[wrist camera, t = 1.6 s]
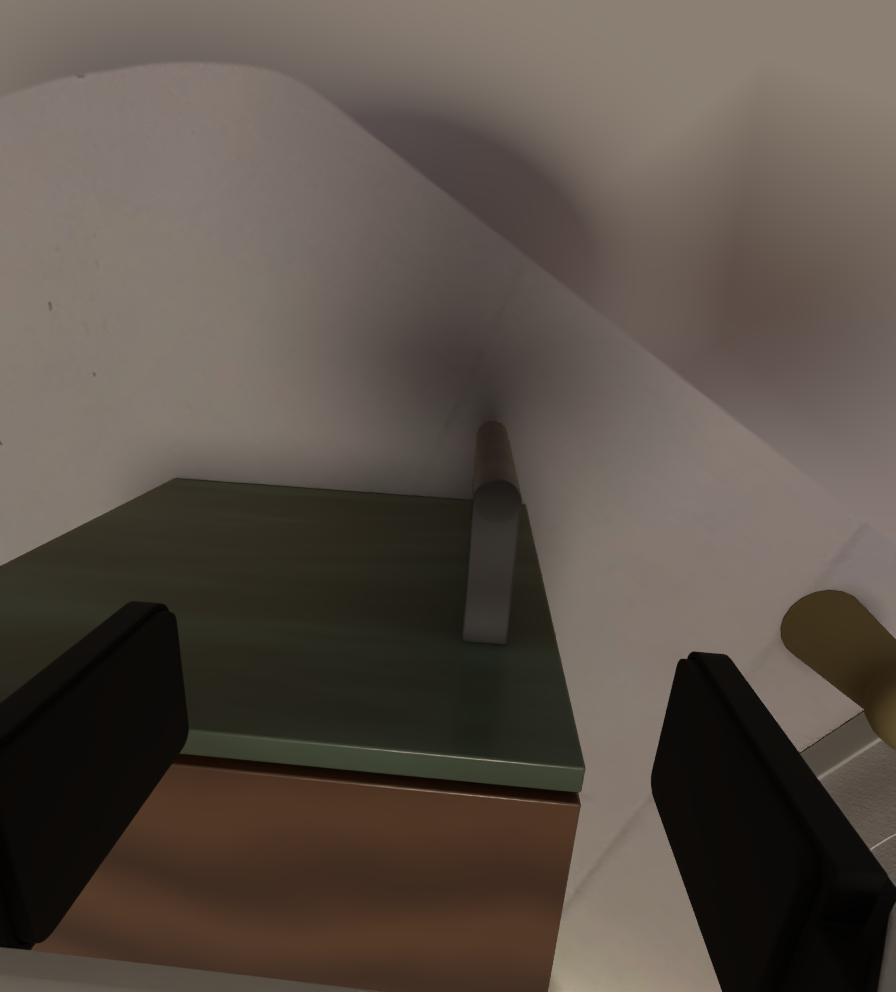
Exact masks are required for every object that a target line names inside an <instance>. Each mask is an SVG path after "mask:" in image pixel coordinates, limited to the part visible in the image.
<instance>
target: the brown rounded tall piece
mask: <svg viewBox="0 0 896 992" xmlns="http://www.w3.org/2000/svg"><path fill="white" fill-rule="evenodd" d="M781 638H782V640H783V642H784V644H785V646H786V648H787V649H788V650H789V651H790V652H792V653H793V654H794V655H795V656H796V657H798V658H799V659H800V660H801V661H803V662H804V663H805V664H806V665H808V666H809V667H810V668H812V669H813V670H814V671H815V672H817V673H818V674H819V675H821V676H822V677H823V678H824V679H826V680H827V681H828V682H830V683H831V684H832V685H833V686H835V687H836V688H837V689H838V690H840V691H841V692H842V693H844V694H845V695H846V696H847V697H849V698H850V699H851V700H853V701H854V702H855V703H856V704H858V705H859V706H860V707H862V708H863V709H864V714H865V716H866V718H867V720H868V722H869V724H870V726H871V728H872V730H873V731H874V732H875V734H876V735H877V736H878V737H879V738H880V739H881V740H882V741H884V742H885V743H886V744H887V745H888V746H889V747H891V748H892V749H894V750H895V751H896V639H895V638H894V637H893V636H892V635H891V634H890V633H889V632H888V631H887V630H886V629H885V628H884V627H883V626H882V625H881V624H880V623H879V621H878V620H877V619H876V618H875V617H874V616H873V615H872V614H871V613H870V612H869V611H868V610H867V609H866V608H865V607H864V606H863V605H862V604H861V603H860V602H859V601H858V600H857V599H856V598H855V597H854V596H852V595H849V594H847V593H845V592H842V591H832V590H827V591H821V592H815V593H813V594H811V595H808V596H806V597H804V598H802V599H801V600H799V601H798V602H797V603H796V604H794V605H793V606H792V607H791V608H790V610H789V611H788V612H787V614H786V615H785V616H784V619H783V622H782V626H781Z"/></svg>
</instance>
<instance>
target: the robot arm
mask: <svg viewBox="0 0 896 992" xmlns="http://www.w3.org/2000/svg"><path fill="white" fill-rule="evenodd" d="M188 733H189V722H188V714H187V705H186V696H185V688H184V679H183V670H182V662H181V653H180V644H179V636H178V627H177V619H176V616H175V614H174V613H172V612H169V609H168V608H167V606H166V605H165V604H163V603H152V602H141V601H130V602H129V603H127V604H125V605H124V606H123V607H122V608H120V609H119V610H118V611H117V612H115V613H114V614H113V615H111V616H110V617H109V618H108V619H106V620H105V621H104V622H103V623H101V624H100V625H99V626H97V627H96V628H95V629H94V630H92V631H91V632H90V633H89V634H87V635H86V636H85V637H83V638H82V639H81V640H80V641H78V642H77V643H76V644H75V645H73V646H72V647H71V648H70V649H68V650H67V651H66V652H64V653H63V654H62V655H61V656H59V657H58V658H57V659H56V660H54V661H53V662H52V663H50V664H49V665H48V666H47V667H45V668H44V669H43V670H42V671H40V672H39V673H38V674H36V675H35V676H34V677H33V678H31V679H30V680H29V681H28V682H26V683H25V684H24V685H23V686H21V687H20V688H19V689H17V690H16V691H15V692H14V693H12V694H11V695H10V696H9V697H7V698H6V699H5V700H3V701H2V702H1V703H0V992H381V991H373V990H365V989H356V988H348V987H340V986H332V985H324V984H315V983H307V982H299V981H290V980H282V979H274V978H265V977H257V976H248V975H240V974H232V973H223V972H215V971H206V970H198V969H189V968H180V967H171V966H163V965H154V964H145V963H137V962H128V961H119V960H110V959H102V958H93V957H84V956H75V955H67V954H58V953H49V952H40V951H32V950H31V949H32V948H33V946H34V945H35V944H36V943H41V942H43V941H45V940H46V939H47V938H48V937H49V936H50V935H51V934H52V933H53V931H54V930H55V929H56V927H57V926H58V925H59V923H60V922H61V920H62V919H63V917H64V916H65V915H66V913H67V912H68V910H69V909H70V908H71V906H72V905H73V903H74V902H75V900H76V899H77V898H78V896H79V895H80V893H81V892H82V891H83V889H84V888H85V886H86V885H87V883H88V882H89V881H90V879H91V878H92V876H93V875H94V874H95V872H96V871H97V869H98V868H99V867H100V865H101V864H102V862H103V861H104V859H105V858H106V857H107V855H108V854H109V852H110V851H111V850H112V848H113V847H114V845H115V844H116V842H117V841H118V840H119V838H120V837H121V835H122V834H123V833H124V831H125V830H126V828H127V827H128V826H129V824H130V823H131V821H132V820H133V818H134V817H135V816H136V814H137V813H138V811H139V810H140V809H141V807H142V806H143V804H144V803H145V801H146V800H147V799H148V797H149V796H150V794H151V793H152V792H153V790H154V789H155V787H156V786H157V784H158V783H159V782H160V780H161V779H162V777H163V776H164V775H165V773H166V772H167V770H168V769H169V768H170V766H171V765H172V763H173V762H174V760H175V759H176V758H177V756H178V755H179V753H180V752H181V751H182V749H183V747H184V746H185V743H186V741H187V738H188ZM651 788H652V794H653V798H654V801H655V803H656V806H657V809H658V812H659V815H660V817H661V820H662V823H663V826H664V829H665V832H666V834H667V837H668V840H669V843H670V846H671V849H672V851H673V854H674V857H675V860H676V863H677V865H678V868H679V871H680V874H681V877H682V880H683V882H684V885H685V888H686V891H687V894H688V896H689V899H690V902H691V905H692V908H693V911H694V913H695V916H696V919H697V922H698V925H699V928H700V930H701V933H702V936H703V939H704V942H705V944H706V947H707V950H708V953H709V956H710V959H711V961H712V964H713V967H714V970H715V973H716V975H717V978H718V981H719V984H720V987H721V990H722V992H896V887H895V885H894V884H893V883H892V881H891V880H890V878H889V877H888V874H887V873H886V871H885V870H884V869H883V867H882V866H881V864H880V863H879V862H878V860H877V859H876V858H875V856H874V855H873V853H872V852H871V851H870V849H869V848H868V847H867V845H866V844H865V842H864V841H863V840H862V838H861V837H860V836H859V834H858V833H857V832H856V830H855V829H854V827H853V826H852V825H851V823H850V822H849V821H848V819H847V818H846V816H845V815H844V814H843V812H842V811H841V810H840V808H839V807H838V805H837V804H836V803H835V801H834V800H833V799H832V797H831V796H830V794H829V793H828V792H827V790H826V789H825V788H824V786H823V785H822V784H821V782H820V781H819V779H818V778H817V777H816V775H815V774H814V773H813V771H812V770H811V768H810V767H809V766H808V764H807V763H806V762H805V760H804V759H803V757H802V756H801V755H800V753H799V752H798V751H797V749H796V748H795V746H794V745H793V744H792V742H791V741H790V740H789V738H788V737H787V736H786V734H785V733H784V731H783V730H782V729H781V727H780V726H779V725H778V723H777V722H776V720H775V719H774V718H773V716H772V715H771V714H770V712H769V711H768V709H767V708H766V707H765V705H764V704H763V703H762V701H761V700H760V698H759V697H758V696H757V694H756V693H755V692H754V690H753V689H752V688H751V686H750V685H749V683H748V682H747V681H746V679H745V678H744V677H743V675H742V674H741V672H740V671H739V670H738V668H737V667H736V666H735V664H734V663H733V661H732V660H731V659H730V658H729V657H728V656H727V655H724V654H715V653H704V652H691V653H690V654H689V656H688V658H687V659H680V660H679V662H678V664H677V667H676V672H675V676H674V680H673V684H672V689H671V693H670V697H669V701H668V706H667V710H666V714H665V718H664V723H663V727H662V731H661V735H660V740H659V744H658V748H657V752H656V757H655V761H654V765H653V769H652V774H651Z"/></svg>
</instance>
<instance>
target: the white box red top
mask: <svg viewBox="0 0 896 992" xmlns="http://www.w3.org/2000/svg"><path fill="white" fill-rule="evenodd" d="M800 755H801V756H802V757H803V759H804V760H805V762H806V763H807V764H808V766H809V767H810V768H811V770H812V771H813V773H814V774H815V775H816V777H817V778H818V779H819V781H820V782H821V784H822V785H823V786H824V788H825V789H826V790H827V792H828V793H829V794H830V796H831V797H832V799H833V800H834V801H835V803H836V804H837V805H838V807H839V808H840V810H841V811H842V812H843V814H844V815H845V816H846V818H847V819H848V821H849V822H850V823H851V825H852V826H853V827H854V829H855V830H856V832H857V833H858V834H859V836H860V837H861V838H862V840H863V841H864V842H865V844H866V845H867V847H868V848H869V849H870V851H871V852H872V853H873V855H874V856H875V858H876V859H877V860H878V862H879V863H880V864H881V866H882V867H883V869H884V870H885V871H886V873H887V874H888V877H889V878H890V880H891V881H892V883H893V884H894V885H895V887H896V751H895V750H894V749H892V748H891V747H889V746H888V745H887V744H886V743H885V742H884V741H882V740H881V739H880V738H879V737H878V736H877V735H876V734H875V732H874V731H873V730H872V728H871V726H870V724H869V722H868V720H867V718H866V716H865V714H864V711H863V712H862V713H860V714H859V715H857V716H856V717H854V718H853V719H851V720H850V721H848V722H847V723H845V724H844V725H842V726H841V727H839V728H838V729H836V730H835V731H833V732H832V733H830V734H829V735H827V736H826V737H824V738H823V739H821V740H820V741H818V742H817V743H815V744H814V745H812V746H811V747H809V748H808V749H806V750H805V751H803V752H802V753H800Z"/></svg>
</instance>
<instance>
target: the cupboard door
mask: <svg viewBox="0 0 896 992" xmlns="http://www.w3.org/2000/svg"><path fill="white" fill-rule="evenodd" d="M130 601H141V602H152V603H163V604H165V605H166V606H167V608H168V609H169V612H172V613H174V614H175V616H176V619H177V627H178V636H179V644H180V653H181V662H182V670H183V679H184V688H185V696H186V705H187V714H188V722H189V733H188V738H187V741H186V743H185V746H184V747H183V749H182V751H181V752H180V753H179V754H188V755H198V756H208V757H219V758H229V759H239V760H249V761H260V762H270V763H280V764H290V765H301V766H311V767H321V768H331V769H342V770H352V771H362V772H372V773H383V774H393V775H403V776H413V777H423V778H434V779H444V780H454V781H464V782H475V783H485V784H495V785H505V786H516V787H526V788H536V789H546V790H557V791H567V792H577V793H579V792H581V790H582V785H583V779H584V773H585V764H584V760H583V755H582V751H581V747H580V742H579V738H578V733H577V729H576V724H575V720H574V716H573V711H572V707H571V702H570V698H569V693H568V689H567V685H566V680H565V676H564V671H563V667H562V663H561V658H560V654H559V649H558V645H557V640H556V636H555V632H554V627H553V623H552V618H551V614H550V610H549V605H548V601H547V596H546V592H545V587H544V583H543V579H542V574H541V570H540V565H539V561H538V556H537V552H536V548H535V543H534V539H533V534H532V530H531V526H530V521H529V517H528V512H527V508H526V505H523V504H522V500H521V494H520V489H519V484H518V480H517V475H516V470H515V465H514V461H513V456H512V451H511V446H510V441H509V437H508V432H507V429H506V427H505V426H504V425H503V424H502V423H500V422H498V421H487V422H485V423H483V424H482V425H481V426H480V427H479V429H478V431H477V439H476V452H475V466H474V479H473V493H472V501H469V500H456V499H442V498H429V497H415V496H402V495H388V494H374V493H361V492H347V491H334V490H320V489H307V488H293V487H280V486H266V485H253V484H239V483H225V482H212V481H198V480H185V479H172V480H170V481H168V482H166V483H164V484H162V485H160V486H158V487H156V488H154V489H152V490H150V491H149V492H147V493H145V494H143V495H141V496H139V497H137V498H135V499H133V500H131V501H129V502H127V503H125V504H123V505H121V506H119V507H117V508H115V509H113V510H111V511H109V512H107V513H105V514H103V515H101V516H99V517H97V518H95V519H93V520H91V521H89V522H87V523H85V524H83V525H81V526H79V527H77V528H75V529H73V530H71V531H69V532H67V533H65V534H63V535H61V536H59V537H57V538H55V539H53V540H51V541H49V542H47V543H45V544H43V545H41V546H39V547H37V548H35V549H33V550H31V551H29V552H27V553H25V554H23V555H21V556H19V557H17V558H15V559H13V560H11V561H10V562H8V563H6V564H4V565H2V566H0V703H1V702H2V701H3V700H5V699H6V698H7V697H9V696H10V695H11V694H12V693H14V692H15V691H16V690H17V689H19V688H20V687H21V686H23V685H24V684H25V683H26V682H28V681H29V680H30V679H31V678H33V677H34V676H35V675H36V674H38V673H39V672H40V671H42V670H43V669H44V668H45V667H47V666H48V665H49V664H50V663H52V662H53V661H54V660H56V659H57V658H58V657H59V656H61V655H62V654H63V653H64V652H66V651H67V650H68V649H70V648H71V647H72V646H73V645H75V644H76V643H77V642H78V641H80V640H81V639H82V638H83V637H85V636H86V635H87V634H89V633H90V632H91V631H92V630H94V629H95V628H96V627H97V626H99V625H100V624H101V623H103V622H104V621H105V620H106V619H108V618H109V617H110V616H111V615H113V614H114V613H115V612H117V611H118V610H119V609H120V608H122V607H123V606H124V605H125V604H127V603H129V602H130Z"/></svg>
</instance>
